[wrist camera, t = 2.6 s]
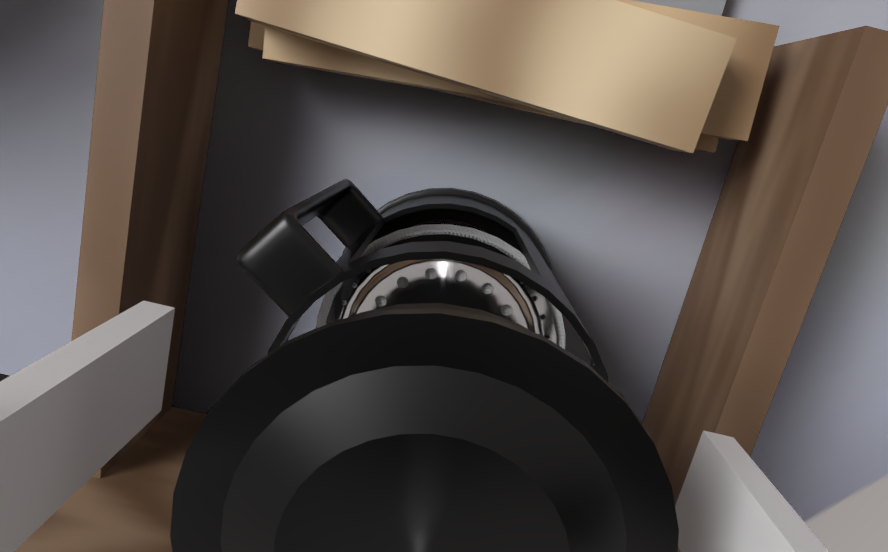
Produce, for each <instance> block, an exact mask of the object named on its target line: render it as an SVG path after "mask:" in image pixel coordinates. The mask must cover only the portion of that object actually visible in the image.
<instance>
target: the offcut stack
mask: <svg viewBox="0 0 888 552" xmlns="http://www.w3.org/2000/svg"><path fill="white" fill-rule="evenodd" d="M235 14H237V15H239V16H242V17H244V18H246V19H248V20H250V21H251V27H250V34H249V42H248V47H251V48H254V49H257V50H260V51H263V58H264V59H267V60H270V61H273V62H277V63H281V64H287V65H292V66H298V67H304V68H310V69H316V70H322V71H328V72H333V73H339V74H345V75H351V76H357V77H363V78H369V79H374V80H380V81H386V82H392V83H398V84H404V85H410V86H415V87H421V88H426V89H430V90H435V91H439V92H443V93H448V94H452V95H457V96H461V97H465V98H470V99H474V100H478V101H483V102H487V103H492V104H496V105H500V106H505V107H509V108H514V109H518V110H522V111H527V112H531V113H536V114H540V115H544V116H549V117H553V118H558V119H562V120H566V121H571V122H575V123H580V124H584V125H588V126H593V127H597V128H601V129H604V130H607V131H611V132H614V133H617V134H620V135H624V136H627V137H630V138H633V139H637V140H640V141H643V142H647V143H650V144H653V145H656V146H660V147H663V148H666V149H669V150H673V151H680V152H687V153H693V152H694V150H699V151H707V152H714V153H715V151H716V148H717V145H718V142H719V138H720V139H727V140H741V141H748V138H749V134H750V131H751V127H752V123H753V120H754V116H755V113H756V109H757V105H758V102H759V98H760V94H761V91H762V87H763V83H764V80H765V76H766V73H767V69H768V65H769V62H770V58H771V54H772V51H773V47H774V43H775V40H776V36H777V33H778V29H779V26H777V25H771V24H765V23H759V22H754V21H748V20H742V19H736V18H731V17H725V16H719V15H713V14H708V13H702V12H696V11H691V10H685V9H679V8H673V7H668V6H662V5H656V4H650V3H645V2H639V1H633V0H237V4H236V9H235Z"/></svg>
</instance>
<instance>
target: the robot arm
mask: <svg viewBox="0 0 888 552" xmlns="http://www.w3.org/2000/svg"><path fill="white" fill-rule="evenodd" d="M174 312H175V308H174V307H170V306H165V305H161V304H157V303H152V302H148V301H142V302H140V303H138V304H136V305H135V306H133V307H131V308H129V309H128V310H126V311H124V312H122V313H121V314H119V315H117V316H115V317H113V318H112V319H110V320H108V321H106V322H105V323H103V324H101V325H99V326H98V327H96V328H94V329H92V330H90V331H89V332H87V333H85V334H83V335H82V336H80V337H78V338H76V339H75V340H73V341H71V342H69V343H67V344H66V345H64V346H62V347H60V348H59V349H57V350H55V351H53V352H52V353H50V354H48V355H46V356H44V357H43V358H41V359H39V360H37V361H36V362H34V363H32V364H30V365H29V366H27V367H25V368H23V369H21V370H20V371H18V372H16V373H14V374H13V375H11V376H9V375H4V374H0V552H14V551H15V550H16V549H17V548H18V547H19V546H20V545H21V544H22V543H23V542H24V541H26V540H27V539H28V538H29V537H30V536H31V535H32V534H33V533H34V532H35V531H36V530H37V529H38V528H39V527H40V526H41V525H42V524H43V523H44V522H45V521H46V520H47V519H48V518H50V517H51V516H52V515H53V514H54V513H55V512H56V511H57V510H58V509H59V508H60V507H61V506H62V505H63V504H64V503H65V502H66V501H67V500H68V499H69V498H70V497H71V496H72V495H74V494H75V493H76V492H77V491H78V490H79V489H80V488H81V487H82V486H83V485H84V484H85V483H86V482H87V481H88V480H89V479H90V478H91V477H92V476H93V475H94V474H95V473H96V472H98V471H99V470H100V469H101V468H102V467H103V466H104V465H105V464H106V463H107V462H108V461H109V460H110V459H111V458H112V457H113V456H114V455H115V454H116V453H117V452H118V451H119V450H120V449H122V448H123V447H124V446H125V445H126V444H127V443H128V442H129V441H130V440H131V439H132V438H133V437H134V436H135V435H136V434H137V433H138V432H139V431H140V430H141V429H142V428H143V427H144V426H146V425H147V424H148V423H149V422H150V421H151V420H152V419H153V418H154V417H155V416H156V415H157V414H158V413H159V412H160V411H161V408H162V401H163V394H164V386H165V379H166V371H167V364H168V356H169V349H170V342H171V334H172V327H173V319H174ZM675 509H676V515H677V521H678V528H679V538H678V548H679V550H680V552H829V551H828V550H827V549H826V547H825V546H824V545H823V544H822V543H821V541H820V540H819V539H818V538H817V537H816V536H815V534H814V533H813V532H812V531H811V529H810V528H809V527H808V526H807V525H806V523H805V522H804V521H803V520H802V519H801V517H800V516H799V515H798V514H797V513H796V512H795V510H794V509H793V508H792V507H791V506H790V504H789V503H788V502H787V501H786V500H785V498H784V497H783V496H782V495H781V494H780V492H779V491H778V490H777V489H776V488H775V486H774V485H773V484H772V483H771V482H770V480H769V479H768V478H767V477H766V476H765V474H764V473H763V472H762V471H761V470H760V468H759V467H758V466H757V465H756V464H755V463H754V461H753V460H752V459H751V458H750V457H749V455H748V454H747V453H746V452H745V451H744V449H743V448H742V447H741V446H740V445H739V443H738V442H737V441H736V440H735V439H734V437H730V436H725V435H721V434H717V433H713V432H708V431H704V430H703V432H702V435H701V438H700V440H699V443H698V446H697V449H696V451H695V454H694V457H693V459H692V462H691V465H690V468H689V470H688V473H687V476H686V478H685V481H684V484H683V487H682V489H681V492H680V495H679V497H678V500H677V503H676V505H675Z"/></svg>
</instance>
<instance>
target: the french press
mask: <svg viewBox="0 0 888 552" xmlns="http://www.w3.org/2000/svg"><path fill="white" fill-rule="evenodd" d="M316 216H317V217H318V218H320V219H321V220H322V221H323V223H324V224H325V225H326V226H327V227H328V228H329V229H330V230H331V231H332V232H333V233H334V235H335V236H336V237H337V238H338V239H339V240H340V241H341V242H342V243H343V244H344V245H345V247H346V248H345V249H344V251H343V254H342V256H341V257H340V258H339V259H338V261H337V262H335V261H334V260H333V259H332V258H331V257H330V256H329V255H328V254H327V253H326V251H325V250H324V249H323V248H322V247H321V246H320V245H319V244H318V243H317V242H316V241H315V240H314V238H313V237H312V236H311V235H310V234H309V233H308V232H307V231H306V230H305V229H304V228H303V227H302V226H303V225H304V224H305V223H307V222H308V221H310V220H311V219H313V218H314V217H316ZM440 220H451V221H457V222H462V223H467V224H469V225H472V226H475V227H477V228H480V229H482V230H484V231H485V232H487V233H488V234H487V233H485V232H482V231H480V230H477V229H474V228H469V227H463V226H457V225H451V224H431V225H419V226H415V227H412V226H414V225H417V224H420V223H425V222H429V221H440ZM237 262H238V264H239V265H240V266H241V267H242V268H243V269H244V270H245V271H246V273H247V274H248V275H249V276H250V277H251V278H252V279H253V280H254V281H255V282H256V283H257V284H258V285H259V286H260V287H261V288H262V289H263V290H264V291H265V292H266V293H267V294H268V295H269V296H270V298H271V299H272V300H273V301H274V302H275V303H276V304H277V305H278V306H279V307H280V308H281V309H282V310H283V311H284V312H285V313H286V314H287V315H288V316H289V318H288V319H287V320H286V322H285V324H284V325H283V327H282V329H281V330H280V332H279V334H278V335H277V337H276V339H275V341H274V342H273V344H272V346H271V347H270V349H269V351H268V354H267V356H265V357H264V358H263V359H261V360H260V361H258V362H257V363H255V364H254V365H253V366H251V367H250V368H248V369H247V370H246V371H245V372H244V373H243V375H242V376H241V377H240V378H239V379H238V380H237V381H236V382H235V383H234V384H233V385H232V386H231V387H230V389H229V390H228V391H227V392H226V393H225V394H224V395H223V396H222V397H221V398H220V399H219V400H218V401H217V403H216V404H215V405H214V406H213V407H212V408H211V410H210V411H209V413H208V414H207V416H206V418H205V419H204V421H203V423H202V425H201V426H200V428H199V430H198V431H197V433H196V435H195V437H194V438H193V440H192V442H191V443H190V445H189V447H188V449H187V450H186V453H185V457H184V460H183V463H182V466H181V470H180V473H179V476H178V479H177V483H176V486H175V489H174V492H173V504H172V517H171V531H170V539H171V545H172V552H678V538H679V528H678V521H677V515H676V509H675V503H674V497H673V490H672V485H671V483H670V481H669V478H668V476H667V473H666V471H665V468H664V466H663V463H662V461H661V459H660V456H659V454H658V451H657V449H656V446H655V444H654V442H653V440H652V439H651V437H650V435H649V434H648V432H647V431H646V430H645V428H644V427H643V425H642V424H641V422H640V421H639V419H638V418H637V417H636V415H635V414H634V412H633V411H632V409H631V408H630V406H629V405H628V404H627V402H626V401H625V399H624V398H623V396H622V395H620V394H619V393H618V392H617V391H616V390H615V389H614V388H613V387H612V386H611V385H610V384H609V383H608V377H607V373H606V371H605V368H604V366H603V363H602V361H601V359H600V356H599V354H598V351H597V349H596V347H595V344H594V342H593V341H592V339H591V337H590V336H589V334H588V332H587V331H586V329H585V327H584V326H583V324H582V322H581V321H580V319H579V317H578V316H577V314H576V312H575V311H574V309H573V307H572V306H571V304H570V302H569V301H568V299H567V297H566V296H565V294H564V292H563V291H562V289H561V287H560V286H559V284H558V282H557V281H556V279H555V277H554V276H553V274H552V272H551V268H550V264H549V262H548V259H547V257H546V255H545V252H544V250H543V248H542V245H541V244H540V242H539V241H538V239H537V238H536V237H535V235H534V234H533V232H532V231H531V229H530V228H529V226H528V225H527V224H525V223H524V222H523V221H522V220H521V219H520V218H519V217H518V216H517V215H516V214H515V213H514V212H513V211H511V210H510V209H508V208H507V207H505V206H504V205H502V204H500V203H499V202H497V201H496V200H494V199H491V198H489V197H486V196H484V195H481V194H478V193H476V192H472V191H467V190H461V189H455V188H432V189H426V190H421V191H417V192H412V193H408V194H406V195H404V196H401V197H399V198H397V199H395V200H392V201H390V202H388V203H387V204H385V205H384V206H382V207H381V208H380V209H378V210H376V209H375V208H374V206H373V205H372V204H371V203H370V202H369V201H368V200H367V199H366V197H365V196H364V195H363V194H362V193H361V192H360V191H359V190H358V189H357V187H356V186H355V185H354V184H353V183H352V182H351V181H350V180H348V179H344V180H342V181H340V182H338V183H336V184H334V185H332V186H331V187H329V188H327V189H325V190H323V191H321V192H319V193H317V194H316V195H314V196H312V197H310V198H308V199H306V200H304V201H302V202H300V203H299V204H297V205H295V206H293V207H291V208H289V209H287V210H285V211H284V212H282V213H281V214H280V215H279V216H278V217H277V218H275V219H274V220H273V221H272V222H271V223H270V224H269V225H268V226H267V227H266V228H265V229H263V230H262V231H261V232H260V233H259V234H258V235H257V236H256V237H255V238H254V239H253V240H251V241H250V242H249V243H248V244H247V245H246V246H245V247H244V248H243V249H242V250H241V251H240V253H239V254H238V256H237ZM324 294H325V296H324V299H323V302H322V305H321V308H320V311H319V314H318V318H317V326H316V329H314V330H312V331H309V332H307V333H305V334H302V335H300V336H298V337H295V338H293V339H291V340H288V339H289V336H290V334H291V332H292V331H293V329H294V327H295V326H296V324H297V322H298V321H299V319H300V317H301V316H302V314H303V313H304V312H305V311H306V310H307V309H308V308H309V307H310V306H311V305H312V304H313V303H314V302H315V301H316V300H317V299H319V298H320V297H321V296H323V295H324ZM561 313H562V314H563V315H564V316H565V317H566V318H567V319H568V320H569V321H570V323H571V324H572V325H573V327H574V328H575V330H576V331H577V333H578V334H579V336H580V337H581V339H582V341H583V344H584V346H585V348H586V351H587V353H588V356H589V359H590V364H591V366H589V365H588V364H587V363H586V362H585V361H583V360H581V359H580V358H578V357H577V356H575V355H573V354H572V353H570V352H568V351H567V350H565V329H564V324H563V319H562V314H561Z"/></svg>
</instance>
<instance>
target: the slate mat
mask: <svg viewBox="0 0 888 552" xmlns="http://www.w3.org/2000/svg"><path fill="white" fill-rule="evenodd" d="M633 1H639V2H645V3H650V4H656V5H662V6H668V7H673V8H679V9H685V10H691V11H696V12H702V13H708V14H713V15H719V16H722V13H723V10H724V6H725V3H726V0H633Z"/></svg>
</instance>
